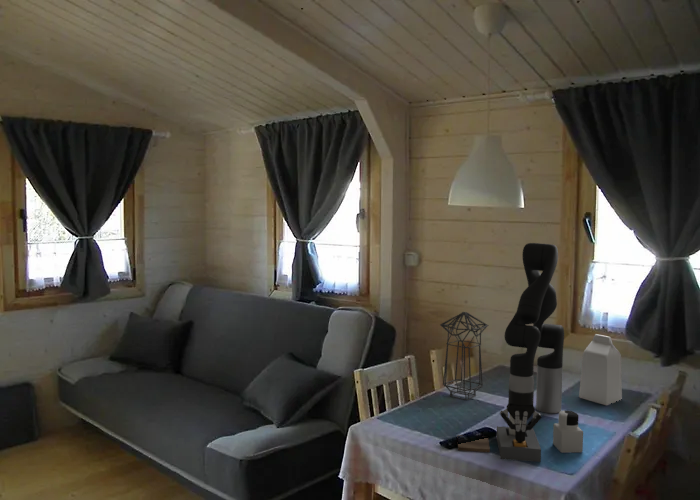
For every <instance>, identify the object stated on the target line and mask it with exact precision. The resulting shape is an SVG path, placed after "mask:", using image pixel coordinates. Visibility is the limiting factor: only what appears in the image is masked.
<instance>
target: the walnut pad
mask: <svg viewBox="0 0 700 500" xmlns="http://www.w3.org/2000/svg"><path fill="white" fill-rule="evenodd" d="M458 436H462V435H459V434H458V435H457V437H458ZM457 450H458V451H461V452H462V451H464V452H476V453H477V452H478V453H479V452H480V453H490V452H491V447H490V441H489V437H488V438H484V439H479V440H475V441H471V442H466V443H461V444H458V443H457Z"/></svg>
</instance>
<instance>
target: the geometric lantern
mask: <svg viewBox="0 0 700 500" xmlns="http://www.w3.org/2000/svg"><path fill="white" fill-rule="evenodd" d="M463 317H464V320H465V321H463V320H462V319H463ZM474 320H476V321H477V322H479V323H476V322H475V321H474ZM460 323H461V324H462V325H463V326H464V327H465V328H459V326H460ZM456 324H457V326H456ZM439 325H440V326H441V328H443V329H444V330H445V331H446V332H447V341H446V351H445V360H444V361H445V362H444V371H443V378H442V379H443V380H442V381H443V383H442V386H444V387H445V388H446V389H447V390H448V391H449V396H450V397H451V398H455V399H459V400H463V401H469V400H471V399H473V398H475V397H476V396H477V395H476V392H477V391H478V390H480V389H481V388H483V387H484V384H483V383H484V382H483V367H482V364H483V363H482V351H481V346H482V333H483V332H484V331H485V330H486V329H487V327H489V324H486V323H485V322H484V321H482V320H480V319H479V318H477V317H475V316H474V315H472V314H470V313H469V312H467V311H462V312H460V313H459V314H457V315H455V316H453V317H451V318H449V319H448V320H446V321H444V322H442V323H440V324H439ZM480 326H481V327H480ZM454 330H455V332H456V334H455V332H454ZM458 331H461V332H459V333H458ZM467 331H468V332H467ZM465 332H467V333H466V334H465V336H464V338H463V339H462V338H461V337H460V335H462V334H463V333H465ZM470 332H472V333H473V336H472V338H471V339H470V340H469V341H468V340H465V339H466V338H467V337H468V335H469V334H470ZM478 332H479V333H478ZM452 336H454V337H455V338H456V340H454V341H450V338H451V337H452ZM477 337H479V340H478V338H477ZM474 338H475V339H476V341H477V342H475V341H473V340H474ZM449 341H450V342H449ZM460 342H461V346H460ZM464 342H465V343H468V345H467V346H466V345H465V344H464ZM453 343H457V345H455V344H453ZM472 343H473V344H476V345H473V346H470V345H471V344H472ZM449 346H453V347H457V348H456V349H457V350H456V351H457V352H456V359H455V360H456V361H455V362H456V363H455V376H454V379H452V380H450V381H447V375H448V373H447V372H448V357H449V354H448V353H449ZM475 347H478V364H479V365H478V377H479V378H478V379H479V380H478V381H479V382H475V381H472V377H471V376H472V374H471V349H472V348H475ZM459 348H461V365H460V366H461V368H460V369H461V371H460V377H461V378H460V379H459V378H457V372H458V362H459V361H458V360H459ZM466 349H468V351H467V352H468V371H469V372H468V373H469V380H466ZM459 381H460V384H459V385H458V382H459ZM453 382H455V385H456V386H457V387H454V386H451V385H447V384H450V383H453ZM462 382H463V387H462ZM466 383H469V388H467V387H466ZM472 384H476V385H477V386H476V387H472ZM454 390H456V391H454ZM454 394H460V395H464V396H465V398H462V397H458V396H453V395H454ZM470 395H472V396H471V397H470Z"/></svg>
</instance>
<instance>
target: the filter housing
mask: <svg viewBox="0 0 700 500" xmlns="http://www.w3.org/2000/svg"><path fill="white" fill-rule="evenodd" d="M495 436H496V441H497V448H498V451H499V452H498V453H499V457H500V460H507V461H508V460H510V461H522V462H523V461H525V462H539V463H541V462H542V449H541V445H540V442H539V440H538V437H537V435H536V432H535V430H534V427H533V428H532V429H531V430H527V431H526V432H525V441H526V444H527V447H514V446H513V439H515V436H509V426H499V425H497V426H496V434H495Z"/></svg>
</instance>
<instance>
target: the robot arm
mask: <svg viewBox="0 0 700 500" xmlns="http://www.w3.org/2000/svg"><path fill="white" fill-rule="evenodd" d="M558 260H559V250H558V247H557V245H555V244H550V243H540V242H538V243H537V242H529V243H526V244H525V245H524V246H523V249H522V263H523V265H522V266H523V268H524V272H525V276H526V280H527V287H526V288H525V289H524V290H523V292H522V294H521V295H520V297H519V301H518V305H517V308H516V312H515V314H514V315H513V317H512V318H511V321H510V322H509V323H508V325H507V327H505V332H504V341H505V343H506V344H507V345H508V346H510V347H515V348H523V349H526V351H525V352H524V353H514V354H512V355H511V356H510V360H509V378H508V404H507V405H506V409H504V410H500V411H499V414H500V417H501V418H502V419H503V421H504V422H505V424H506V425H507V427H510V428H511V429H514V430H515V439H516V441H518V443H523V441H525V432H526V431H527V430H531V429H532V428H533V429H534V427H535V426H536V425H537V424H538V423H539V422H540V421H541V419H542V414H541V413H540V412H542V413H546V414H557V413H558V414H559V412H561V411H562V402H563V401H562V399H563V398H562V396H563V395H562V394H563V392H562V391H563V390H562V389H563V366H564V365H563V361H564V344H565V329H564V327H563V325H561V324H551V323H545V322H546V320H548V319H549V318H550V316H551V315H552V314H553V313H554V312H555V311H556V308H557V305H558V300H557V292H556V289H555V287H554V286H553V285H552V283H551V282H552V281H551V280H552V279H553V276H554V274H555V271H556V268H557V265H558ZM538 348H542V349H543V348H544V349H553V351H552V352H550V353H548V354H543V355H540V356H538V357H537V360H536V397H535V406H534V395H535V393H534V392H535V380H534V379H535V378H534V369H535V368H534V367H535V365H534V363H535V358H536V353H537V350H538ZM536 410H537V411H536ZM538 411H539V412H538ZM509 413H510V415H511V416H512V418H513V419H515V424H513V423H512V422H511V420H510V419H509ZM531 417H532V418H531ZM530 418H531V419H530ZM520 420H521V429H520ZM528 420H529V422H528V423H527V421H528Z"/></svg>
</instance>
